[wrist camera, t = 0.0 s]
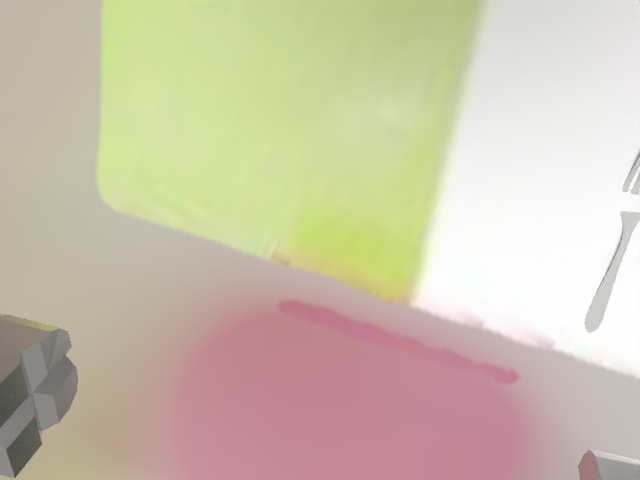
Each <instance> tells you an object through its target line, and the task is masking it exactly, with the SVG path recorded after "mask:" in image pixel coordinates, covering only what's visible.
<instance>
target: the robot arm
mask: <svg viewBox="0 0 640 480" xmlns="http://www.w3.org/2000/svg"><path fill="white" fill-rule="evenodd" d="M70 348H71V342H70V338H69V334H68V331H65V330H63V329H61V328H57V327H54V326H50V325H46V324H42V323H38V322H34V321H30V320H27V319H22V318H19V317H14V316H11V315H6V314H2V313H0V475H4V476H8V477H12V478H16V476H17V475H18V474H19V473H20V471H21V470H22V469H23V468H24V466H25V465H26V464H27V462H28V461H29V460H30V459H31V458H32V456H33V455H34V454H35V452H36V451H37V450H38V449H39V447H40V446H41V445H42V431H43V430H45V429H47V428H49V427H51V426H53V425H55V424H57V423H59V422H60V421H61V419H62V418H63V416H64V415H65V414H66V413H67V411H68V410H69V409H70V407H71V404H72V402H73V399H74V397H75V394H76V392H77V383H78V376H77V370H76V367H75V366H74V365H73V363H72V362H71V361H70V360H69V358H68V357H67V356H66V354H67V352H68V351H69V350H70ZM578 468H579V475H580V480H640V460H635V459H631V458H627V457H622V456H617V455H613V454H608V453H603V452H599V451H594V450H588V451H587V452H586V453H585V454H584V455H583V457H582V459H581V462H580V463H579V465H578Z"/></svg>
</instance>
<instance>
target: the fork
mask: <svg viewBox="0 0 640 480" xmlns="http://www.w3.org/2000/svg"><path fill="white" fill-rule="evenodd" d="M639 166H640V157H639V158H638V160H637V162H636V163H635V165H634V167H633V169H632V171H631V172H630V174H629V176H628V178H627V180H626V182H625V184H624V187H623V192H627V191H628V190H629V188H628V187H629V185H630V183H631V181H632V178H633V177H634V175H635V173H636V171H637V169H638V167H639ZM639 187H640V175H639V177H638V179H637V181H636V183H635V185H634V187H633V189H632V190H631V193H632V194H638V193H639ZM639 195H640V194H639ZM620 213H621V217H622V221H623V235H622V239H621V242H620V245H619V248H618V250H617V253H616V255H615V257H614V259H613V261H612V264H611V266H610V268H609V270H608V272H607V273H606V275H605V277H604V279H603V281H602V283H601V285H600V287H599V289H598V290H597V292H596V295H595V297H594V299H593V301H592V303H591V306H590V308H589V310H588V313H587V315H586V319H585V327H586V330H587V332H589V333H591V332H593V331H595V330H596V329H597V328H598V327H599V325H600V324H601V322H602V319H603V316H604V313H605V309H606V306H607V303H608V300H609V297H610V294H611V291H612V287H613V284H614V281H615V278H616V275H617V271H618V268H619V266H620V263H621V261H622V258H623V255H624V253H625V250H626V248H627V245H628V242H629V240H630V237H631V234H632V232H633V230H634V228H635V226H636V224H637V223H638V222H639V220H640V213H636V212H626V211H622V212H620Z"/></svg>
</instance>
